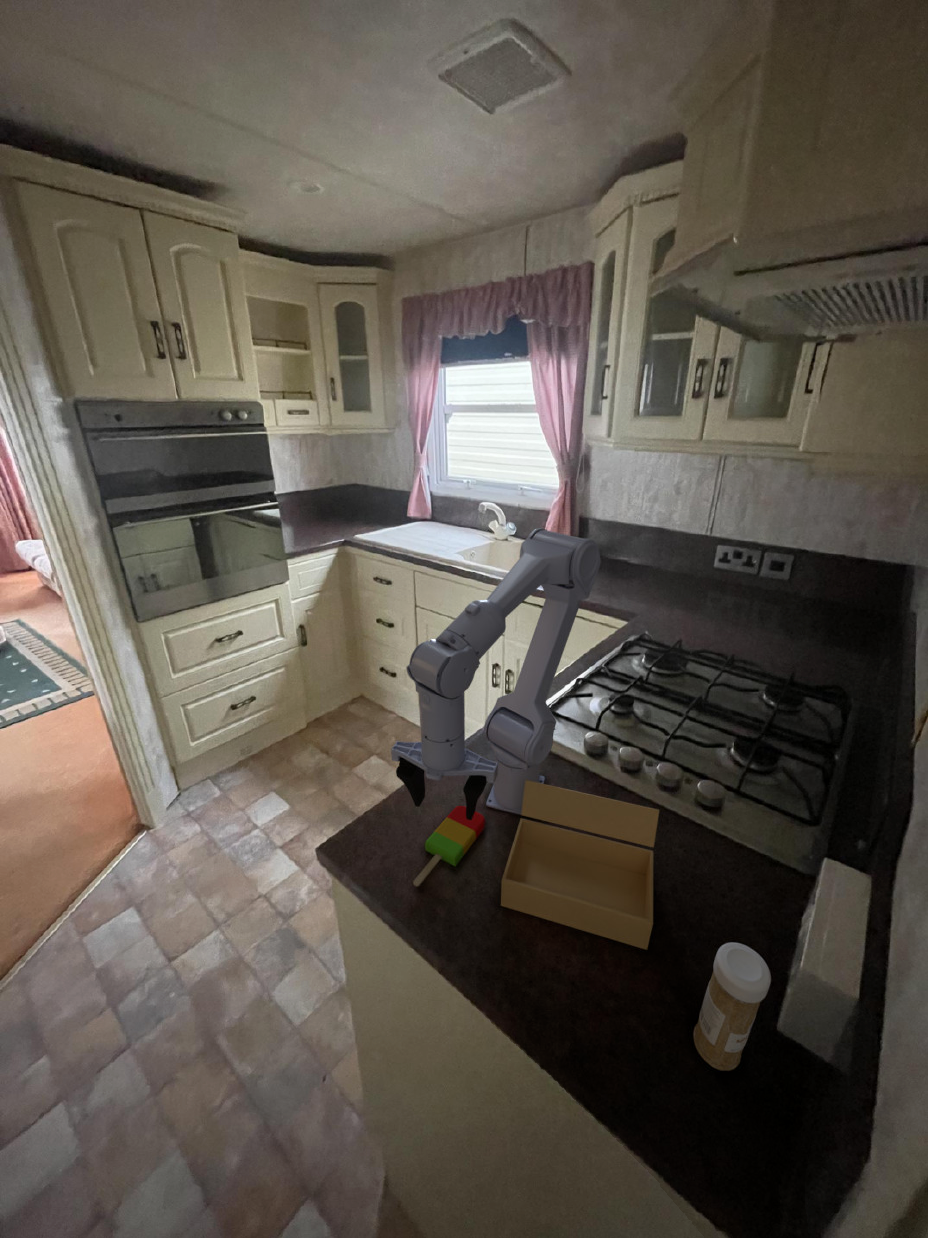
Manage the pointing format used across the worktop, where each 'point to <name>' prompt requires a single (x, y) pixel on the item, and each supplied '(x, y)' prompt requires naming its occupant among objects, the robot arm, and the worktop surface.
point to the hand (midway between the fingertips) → (445, 808)
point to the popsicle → (451, 839)
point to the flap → (590, 813)
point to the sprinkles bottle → (730, 1005)
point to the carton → (581, 882)
